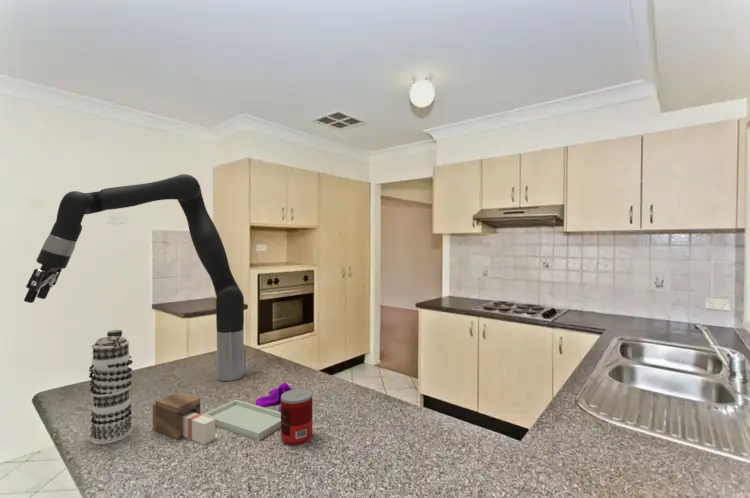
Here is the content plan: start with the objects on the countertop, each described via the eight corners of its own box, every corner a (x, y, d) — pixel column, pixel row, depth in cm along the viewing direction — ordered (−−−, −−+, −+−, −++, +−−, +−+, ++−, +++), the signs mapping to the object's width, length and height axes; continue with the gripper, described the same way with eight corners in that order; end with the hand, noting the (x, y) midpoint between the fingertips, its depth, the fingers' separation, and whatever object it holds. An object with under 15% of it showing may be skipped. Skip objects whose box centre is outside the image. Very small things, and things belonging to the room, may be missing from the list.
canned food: (317, 432, 99) (317, 390, 99) (302, 448, 92) (302, 402, 91) (291, 428, 102) (291, 386, 101) (274, 442, 94) (274, 398, 94)
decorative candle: (138, 424, 103) (137, 332, 103) (126, 441, 94) (125, 341, 94) (98, 429, 101) (97, 335, 100) (83, 447, 92) (81, 344, 91)
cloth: (299, 420, 107) (299, 398, 107) (241, 413, 112) (241, 392, 112) (328, 390, 129) (328, 372, 129) (278, 385, 133) (278, 367, 133)
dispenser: (176, 419, 106) (176, 391, 106) (200, 428, 101) (200, 398, 101) (152, 429, 100) (152, 399, 100) (177, 439, 95) (176, 407, 95)
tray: (235, 405, 116) (235, 399, 116) (290, 421, 105) (290, 415, 105) (201, 421, 105) (201, 414, 105) (258, 440, 95) (258, 433, 95)
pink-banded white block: (180, 426, 103) (179, 407, 103) (215, 439, 96) (215, 418, 96) (169, 431, 100) (168, 411, 100) (204, 444, 93) (204, 424, 93)
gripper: (62, 256, 115) (38, 307, 113) (78, 254, 128) (58, 300, 127) (32, 247, 112) (8, 299, 111) (52, 246, 126) (31, 293, 124)
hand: (34, 300), depth 119 cm, fingers open, 8 cm apart
